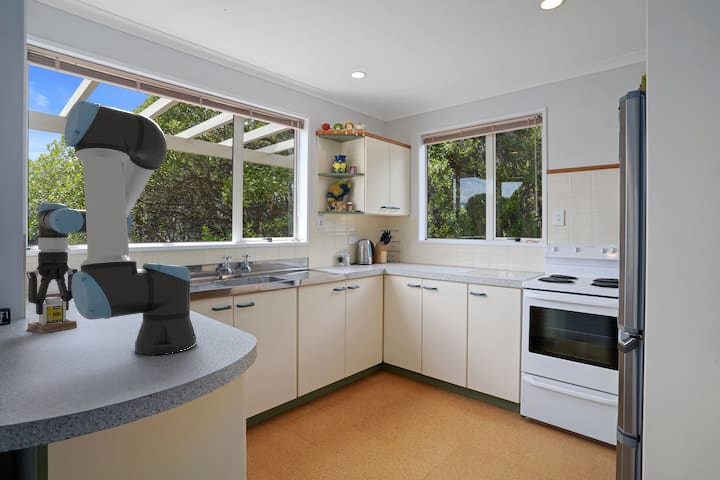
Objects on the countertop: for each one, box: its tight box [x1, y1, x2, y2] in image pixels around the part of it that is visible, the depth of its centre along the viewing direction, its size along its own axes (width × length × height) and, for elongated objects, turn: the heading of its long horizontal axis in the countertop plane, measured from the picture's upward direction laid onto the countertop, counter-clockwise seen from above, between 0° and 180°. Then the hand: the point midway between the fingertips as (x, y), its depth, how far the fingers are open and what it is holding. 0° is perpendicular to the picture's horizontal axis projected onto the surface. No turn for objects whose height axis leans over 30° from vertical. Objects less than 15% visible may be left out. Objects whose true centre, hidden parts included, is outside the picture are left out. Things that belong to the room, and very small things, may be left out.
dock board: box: [27, 318, 78, 334], centre depth 123 cm, size 10×9×2 cm
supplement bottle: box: [44, 296, 62, 325], centre depth 123 cm, size 5×5×8 cm
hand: (52, 322), depth 123 cm, fingers closed on supplement bottle, 5 cm apart
